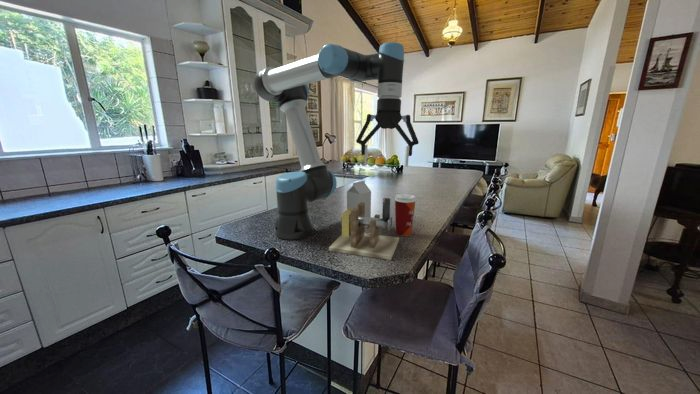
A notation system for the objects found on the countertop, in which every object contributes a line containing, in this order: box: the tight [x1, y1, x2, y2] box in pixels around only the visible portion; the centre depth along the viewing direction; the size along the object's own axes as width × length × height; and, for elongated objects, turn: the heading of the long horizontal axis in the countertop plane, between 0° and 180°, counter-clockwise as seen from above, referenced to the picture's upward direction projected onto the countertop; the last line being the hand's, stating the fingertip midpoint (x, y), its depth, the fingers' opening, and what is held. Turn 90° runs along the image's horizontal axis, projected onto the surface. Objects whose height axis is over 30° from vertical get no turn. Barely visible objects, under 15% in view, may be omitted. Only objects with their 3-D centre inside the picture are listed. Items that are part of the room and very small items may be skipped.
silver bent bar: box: [340, 197, 393, 231], centre depth 93 cm, size 17×4×11 cm, turn 71°
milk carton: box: [346, 180, 372, 229], centre depth 113 cm, size 7×7×19 cm
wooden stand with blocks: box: [328, 202, 400, 261], centre depth 95 cm, size 21×16×14 cm
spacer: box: [341, 208, 354, 237], centre depth 96 cm, size 2×8×8 cm, turn 161°
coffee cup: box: [393, 193, 417, 237], centre depth 106 cm, size 8×8×15 cm
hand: (385, 165), depth 92 cm, fingers open, 13 cm apart
